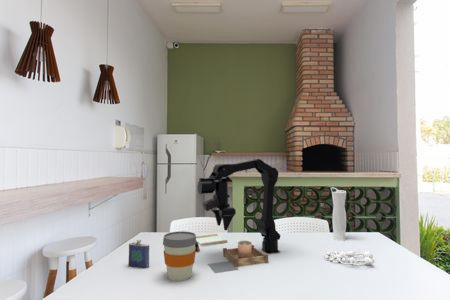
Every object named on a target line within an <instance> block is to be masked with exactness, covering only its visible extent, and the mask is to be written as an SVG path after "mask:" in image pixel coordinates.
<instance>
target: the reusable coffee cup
mask: <svg viewBox="0 0 450 300" xmlns="http://www.w3.org/2000/svg"><path fill="white" fill-rule="evenodd" d="M196 236H197V235H196V233H195V232H190V231H184V230H183V231H172V232H168V233H166V234H164V235H163V239H162V240H163V241H162V246H163V249H164V250H163V258H164V264H165V266H166V273H167V274H166V275H167V278H168V279H170V280H171V281H178V282H180V281H185V280H188V279H190V278H191V277H192V274H193V266H194V263H195V260H196V251H197V249H195V244H196Z"/></svg>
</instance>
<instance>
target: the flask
mask: <svg viewBox="0 0 450 300" xmlns="http://www.w3.org/2000/svg"><path fill="white" fill-rule="evenodd" d="M128 267H131V268H138V269H139V268H140V269H141V268H142V269H147V268H149V267H150V244H148V243H142V240H141V239H137V240H136V242H135V241H134V242H130V243H129V244H128Z"/></svg>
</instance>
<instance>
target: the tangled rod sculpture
mask: <svg viewBox="0 0 450 300" xmlns="http://www.w3.org/2000/svg"><path fill="white" fill-rule="evenodd" d="M333 254H334V255H333ZM323 256H324V259H325V261H329V262H330V263H331V262H332V263H333V262H334V261H335V262H338V263H341V264H342V265H347V266H348V265H351V266H353V265H354V266H358V267H359V266H363V265H365V266H371V265H373V264H374V261H373V257H374V256H373V254H372V252H370V251H364V252H361V251H360V249H357V250H354V251H353V250H348V251H346V252H345V251H337V250H335V251H331V252H330V251H327V252H325V253H323ZM355 256H362V257H363V258H361V259H356V257H355ZM346 262H347V263H346ZM358 263H360V264H358Z"/></svg>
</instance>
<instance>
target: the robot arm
mask: <svg viewBox="0 0 450 300" xmlns="http://www.w3.org/2000/svg"><path fill="white" fill-rule="evenodd" d="M252 169H255V170H256V171H257V173H259V174H260V178H261V182H262V184H263V195H262V196H263V198H262V214H261V215H262V216H261V217H260V218H258V219H257V226H256V228H257V229H258V232H259V233H260V236H261V237H262V242H261V243H262V244H261V246H262V248H261V251H263V252H264V253H265V254H268V255H269V254H275V253H280V250H279V240H281V239H280V238H281V234H280V233H279V232H278V231H277V230H276V229H277V228H276V222H275V220H274V216H273V215H274V199H275V198H274V196H275V194H274V192H275V186H276V184H277V182H278V179H279V170H278V169H277V168H276V167H273V166H271V165H269V164H267V162H265V161H264V160H262V159H260V158H254V159H250V160H246V161H240V162H236V163H217V164H215V165H214V166H213V168H212V172H211V173H210V175H209V176H208V177H206V178H205V177H199V178H198V183H197V185H196V186H197V192H198V194H199V195H205V194H207V195H208V194H213V193H214V194H213V196H212V198H210V199H208V200H205V201H203V202H202V203H201V205H202V206H203V209H204V211H206V212H212V213H213V214H214V217H215V221H216V224H217V226H219V227H220V226H221V223H223V229H224V231H228V228H229V226H230V224H231V222H232V220H233V218H234V217H235V215H236V213H237V212H236V209H235V208H234V207H233V206H230V205H231V204H230V203H229V198H230V194H229V185H228V184H229V183H232V182H233V179H232V178H230V176H231V175H233V174H235V173H239V172H243V171H248V170H252Z"/></svg>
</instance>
